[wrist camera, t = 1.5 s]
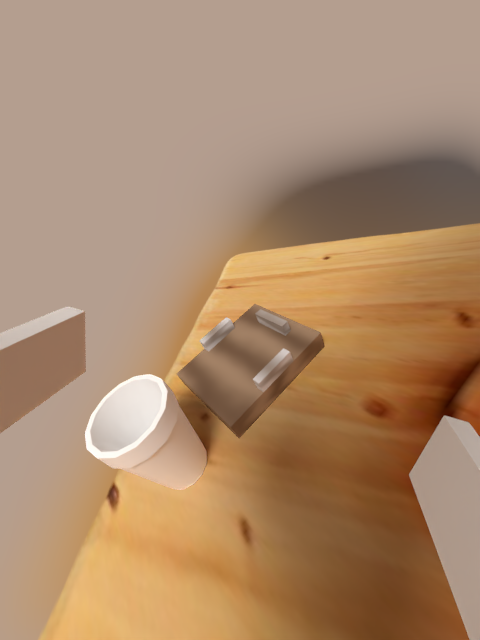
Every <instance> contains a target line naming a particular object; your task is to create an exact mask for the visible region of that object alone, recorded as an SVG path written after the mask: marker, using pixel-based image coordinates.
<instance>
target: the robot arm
mask: <svg viewBox="0 0 480 640" xmlns="http://www.w3.org/2000/svg"><path fill="white" fill-rule="evenodd" d="M85 362H86V361H85V311H82V310H78V309H75V308H72V307H68V306H67V307H64V308H62V309H59V310H57V311H54V312H52V313H49V314H47V315H45V316H42V317H39V318H37V319H34V320H32V321H29V322H27V323H24V324H22V325H19V326H17V327H14V328H12V329H10V330H7V331H5V332H2V333H0V433H1V432H3V431H4V430H5V429H7V428H8V427H10V426H11V425H12V424H14V423H15V422H17V421H18V420H19V419H21V418H22V417H23V416H25V415H26V414H28V413H29V412H30V411H32V410H33V409H34V408H35V407H37V406H39V405H40V404H41V403H43V402H44V401H46V400H47V399H48V398H50V397H51V396H52V395H54V394H55V393H57V392H58V391H59V390H60V389H62V388H63V387H65V386H66V385H68V384H69V383H70V382H72V381H73V380H74V379H76V378H77V377H79V376H80V375H81V374H83V373H84V372H85V371H86V369H85V368H86V363H85ZM409 477H410V479H411V482H412V485H413V487H414V490H415V493H416V496H417V498H418V501H419V504H420V506H421V509H422V512H423V515H424V517H425V520H426V523H427V525H428V528H429V531H430V534H431V536H432V539H433V542H434V544H435V547H436V550H437V553H438V555H439V558H440V561H441V563H442V566H443V569H444V572H445V574H446V577H447V580H448V582H449V585H450V588H451V591H452V593H453V596H454V599H455V601H456V604H457V607H458V610H459V612H460V615H461V618H462V620H463V623H464V626H465V629H466V631H467V634H468V637H469V639H470V640H480V437H479V435H478V434H477V433H476V431H475V430H474V429H473V427H472V426H471V425H470V423H469V422H465V421H462V420H458V419H455V418H452V417H448V416H445V415H444V416H443V418H442V420H441V421H440V423H439V425H438V426H437V428H436V430H435V431H434V433H433V435H432V436H431V438H430V440H429V442H428V443H427V445H426V447H425V448H424V450H423V452H422V453H421V455H420V457H419V458H418V460H417V462H416V463H415V465H414V467H413V468H412V470H411V472H410V474H409Z"/></svg>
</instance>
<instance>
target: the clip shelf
mask: <svg viewBox="0 0 480 640" xmlns="http://www.w3.org/2000/svg"><path fill="white" fill-rule="evenodd" d="M200 342H201V344H202V345H203V347H204V348H205V349H204V350H203V351H202V352H201V353H199V354H198V355H197V356H196V357H195V358H194V359H193V360H192V361H190V362H189V363H188V364H187V365H186V366H185V367H184V368H183V369H182V370H180V371H179V372H178V373H177V375H178V376H179V378H180V379H181V380H182V381H183V383H184V384H185V385H186V386H187V387H188V388H189V389H190V390H191V391H192V392H193V393H194V394H195V395H196V396H197V397H198V398H199V399H200V400H201V401H202V402H203V403H204V404H205V405H206V406H207V407H208V408H209V409H210V410H211V411H212V412H213V413H214V414H215V415H216V416H217V417H218V418H219V419H220V420H221V421H222V422H223V423H224V424H225V425H226V426H227V427H228V428H229V429H230V430H231V431H232V432H233V433H234V434H235V435H236V436H237V437H238V438H240V437H241V436H242V435H243V433H244V432H245V431H246V430H247V429H248V428H249V427H250V426H251V425H252V424H253V423H254V422H255V421H256V419H257V418H258V417H259V416H260V415H261V414H262V413H263V412H264V411H265V410H266V409H267V408H268V407H269V405H270V404H271V403H272V402H273V401H274V400H275V399H276V398H277V397H278V396H279V395H280V394H281V393H282V391H283V390H284V389H285V388H286V387H287V386H288V385H289V384H290V383H291V382H292V381H293V380H294V379H295V377H296V376H297V375H298V374H299V373H300V372H301V371H302V370H303V369H304V368H305V367H306V366H307V365H308V363H309V362H310V361H311V360H312V359H313V358H314V357H315V356H316V355H317V354H318V353H319V352H320V351H321V349H322V348H323V347H324V343H323V339H322V335H321V333H320V332H318V331H316V330H313V329H311V328H309V327H307V326H304V325H302V324H300V323H297V322H295V321H293V320H290V319H288V318H286V317H284V316H281V315H279V314H277V313H274V312H272V311H270V310H267V309H265V308H263V307H261V306H258V305H256V304H254V305H253V306H252V307H251V308H250V309H249V310H248V311H247V312H245V313H244V314H243V315H242V316H241V317H240V318H239V319H238V320H236V321H235V322H234V323H232V321H231V320H230V319H229V318H227V317H226V318H225V319H224V320H223V321H222V322H220V323H219V324H218V325H217V326H216V327H215V328H213V329H212V330H211V331H210V332H209V333H208V334H207V335H205V336H204V337H203V338H202V339H201V340H200Z"/></svg>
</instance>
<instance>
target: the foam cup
mask: <svg viewBox="0 0 480 640" xmlns="http://www.w3.org/2000/svg"><path fill="white" fill-rule="evenodd" d="M85 439H86V447H87V450H88V451H89V452H91V453H92V454H93V455H94V456H95V457H96V458H98V459H99V460H101V461H102V462H104V463H105V464H107V465H109V466H110V467H112V468H120V469H122V470H125V471H128V472H130V473H133V474H135V475H138V476H140V477H143V478H145V479H148V480H151V481H153V482H156V483H158V484H161V485H163V486H166V487H169V488H173V489H185V488H187V487H189V486H191V485H193V484H194V483H195V482H196V481H197V480H198V479H199V478H200V477H201V475H202V474H203V471H204V469H205V466H206V464H207V451H206V449H205V448H204V446H203V444H202V442H201V440H200V439H199V437H198V435H197V434H196V432H195V430H194V429H193V427H192V426H191V424H190V422H189V421H188V419H187V417H186V416H185V414H184V412H183V411H182V409H181V408H180V406H179V404H178V401H177V399H176V397H175V395H174V393H173V391H172V390H171V389H170V388H169V387H168V385H167V384H166V383H165V382H164V381H163V380H162V379H160V378H158V377H156V376H154V375H151V374H148V375H141V376H134V377H132V378H131V379H129V380H127V381H125V382H123V383H121V384H119V385H118V386H117V387H115V388H114V389H113V390H112V391H111V392H110V393H108V394H107V395H106V396H105V397H104V398H103V399H102V401H101V402H100V403H99V405H98V406H97V408H96V409H95V411H94V412H93V413H92V415H91V417H90V420H89V423H88V426H87V429H86V432H85Z"/></svg>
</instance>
